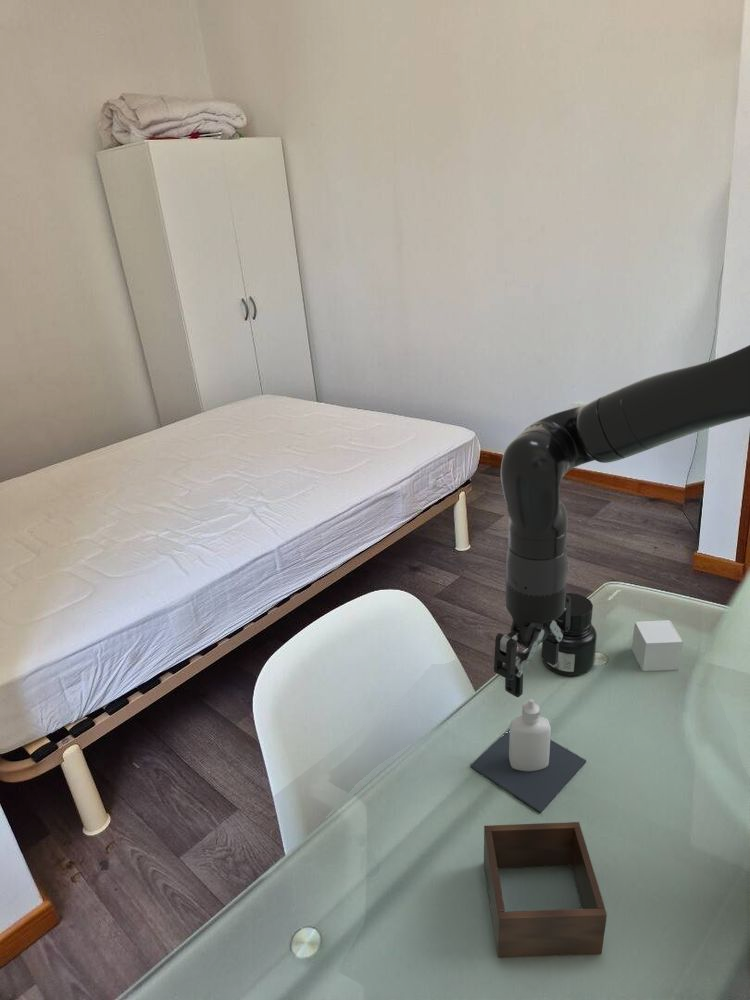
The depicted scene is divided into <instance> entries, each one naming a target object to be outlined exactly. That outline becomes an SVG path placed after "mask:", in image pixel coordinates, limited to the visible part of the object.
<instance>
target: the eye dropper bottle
mask: <svg viewBox="0 0 750 1000" xmlns="http://www.w3.org/2000/svg"><path fill="white" fill-rule="evenodd" d="M509 728H510V737H509V761H510V765H511V767H512V768H514V769H516V770H520V771H537V770H541V769H543V768H546V767H547V766H548V765H549V752H550V740H551V735H552V734H551V733H552V731H551V730H552V727H551V724H550V722H549V720H548V719H547V718H546V717H544V716H541V708H540V706H539V704H537V703H536V702H535V700H534V698H529V699H528V701H527V702H525V703H523V704H522V706H521V715H520V716H517V717H515V718H513V719H512V720H511V721H510V723H509Z"/></svg>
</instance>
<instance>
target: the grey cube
mask: <svg viewBox="0 0 750 1000" xmlns="http://www.w3.org/2000/svg"><path fill="white" fill-rule="evenodd" d="M683 643H684V641H683V640H682V638H681V636H680V635H679V633H678V631H677V630H676V628H675V626H674V625H673V623H672V621H671V620H668V619H666V620H647V621H646V620H642V621H640V620H639V621H634V626H633V634H632V642H631V651H632V653H633V655H634V657H635V659H636V661H637V663H638V665H639V667H640V669H641V671H642V672H657V671H659V672H661V671H678V670H679V667H680V662H681V655H682V648H683Z"/></svg>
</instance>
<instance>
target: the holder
mask: <svg viewBox="0 0 750 1000" xmlns="http://www.w3.org/2000/svg"><path fill="white" fill-rule="evenodd" d="M563 866H565V867H566V866H570V869H571V873H572V876H573V879H574V883H575V887H576V890H577V894H578V897H579V902H580V905H581V908H578V909H577V908H575V909H574V908H571V909H547V910H546V909H545V910H520V911H519V910H517V911H506V910H505V909H506V908H505V904H504V897H503V892H502V886H501V880H500V873H499V869H507V868H509V869H510V868H534V867H535V868H536V867H563ZM483 867H484V874H485V880H486V887H487V894H488V902H489V908H490V914H491V922H492V927H493V934H494V940H495V947H496V948H495V949H496V954H497V958H521V957H522V958H523V957H549V956H550V957H553V956H581V955H582V956H583V955H602V953H603V947H604V939H605V933H606V925H607V919H608V918H607V917H608V913H607V910H606V907H605V904H604V900H603V897H602V894H601V890H600V887H599V883H598V880H597V876H596V874H595V871H594V867H593V864H592V861H591V857H590V854H589V850H588V847H587V844H586V840H585V837H584V834H583V830H582V828H581V824H580V822H579V821H573V822H572V821H571V822H570V821H568V822H544V823H543V822H542V823H520V824H518V823H517V824H494V825H484V826H483Z"/></svg>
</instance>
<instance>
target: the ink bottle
mask: <svg viewBox="0 0 750 1000" xmlns="http://www.w3.org/2000/svg"><path fill="white" fill-rule="evenodd" d="M566 595H568V596H570V597H571V613H570V629H569V631H568V632H565V631H564V632H563V633H562V634H563V638H562V640H561V641H560V642H559V653H558V662H557V663H556V664H555V665H552V664H550V663H548V662H546V661H544V660H543V659H542V661H543V663H544V665H545V666H546V667H547V668H548V669H550V670H551V671H552V672H554V673H556V674H558V675H562V676H570V677H573V676H579V675H584V674H586V673H588V672H589V671H591V670H592V669H593V667H594V665H595V659H596V648H597V636H598V635H597V631H596V628H595V627H594V625H593V624H592V618H593V611H594V610H593V608H594V605H593V603H592V601H591V599H590V598H588V597H586V596H584V595H581V594H579V593H574V592H566ZM558 620H561V621H563V619H562V618H561V617H559V618H558Z"/></svg>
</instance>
